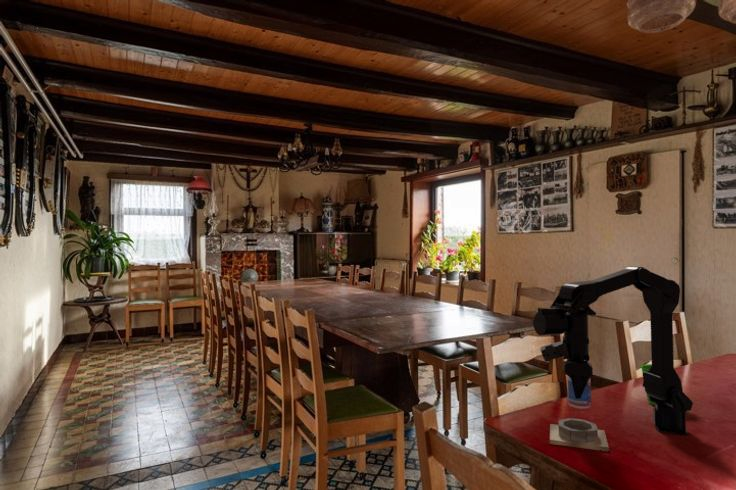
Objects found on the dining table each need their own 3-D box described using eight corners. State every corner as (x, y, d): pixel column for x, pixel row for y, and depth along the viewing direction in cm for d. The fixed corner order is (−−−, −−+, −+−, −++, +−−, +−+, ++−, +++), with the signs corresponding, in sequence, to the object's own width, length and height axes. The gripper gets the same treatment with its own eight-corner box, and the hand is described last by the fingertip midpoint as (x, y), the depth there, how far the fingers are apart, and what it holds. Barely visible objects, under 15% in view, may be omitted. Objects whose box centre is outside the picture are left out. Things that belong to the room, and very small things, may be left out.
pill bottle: (593, 409, 115) (593, 370, 115) (570, 408, 116) (569, 369, 116) (588, 402, 120) (587, 364, 120) (565, 401, 121) (564, 363, 121)
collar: (604, 434, 121) (604, 420, 121) (608, 451, 111) (608, 436, 111) (550, 427, 126) (550, 414, 126) (549, 443, 115) (549, 429, 115)
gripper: (542, 325, 130) (544, 382, 130) (541, 338, 113) (542, 403, 113) (587, 327, 126) (588, 385, 126) (592, 341, 108) (593, 408, 108)
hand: (577, 394), depth 118 cm, fingers closed on pill bottle, 5 cm apart
